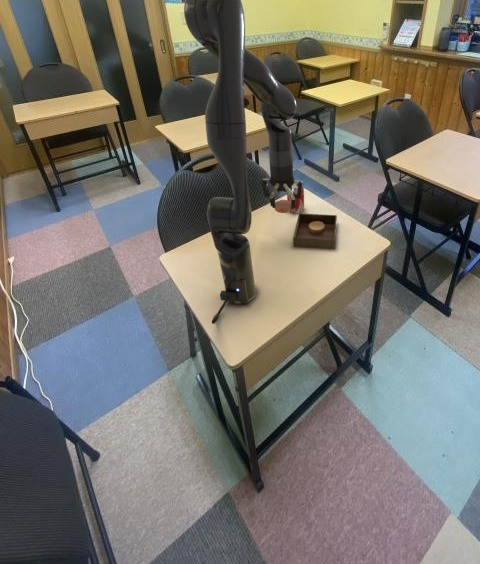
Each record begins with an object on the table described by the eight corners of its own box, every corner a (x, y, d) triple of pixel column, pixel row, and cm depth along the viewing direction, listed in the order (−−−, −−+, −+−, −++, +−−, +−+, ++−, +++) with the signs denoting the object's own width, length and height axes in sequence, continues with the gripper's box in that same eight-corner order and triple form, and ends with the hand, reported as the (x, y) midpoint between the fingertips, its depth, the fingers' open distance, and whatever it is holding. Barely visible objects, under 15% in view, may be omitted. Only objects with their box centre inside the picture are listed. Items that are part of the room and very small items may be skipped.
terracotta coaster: (290, 213, 121) (290, 208, 120) (273, 212, 121) (273, 207, 120) (293, 204, 125) (293, 200, 124) (276, 203, 126) (276, 199, 125)
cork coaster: (324, 234, 135) (324, 230, 134) (308, 233, 136) (308, 229, 134) (324, 225, 140) (325, 221, 138) (309, 224, 140) (309, 220, 139)
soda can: (284, 212, 148) (283, 186, 140) (292, 205, 153) (291, 179, 145) (299, 216, 146) (298, 190, 138) (307, 208, 150) (307, 182, 142)
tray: (334, 249, 128) (335, 240, 125) (293, 247, 129) (293, 237, 126) (336, 224, 141) (336, 215, 138) (299, 222, 142) (298, 213, 139)
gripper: (256, 165, 110) (261, 211, 121) (302, 166, 108) (302, 214, 120) (261, 155, 115) (265, 201, 127) (304, 157, 114) (304, 203, 125)
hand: (283, 207), depth 123 cm, fingers closed on terracotta coaster, 6 cm apart
